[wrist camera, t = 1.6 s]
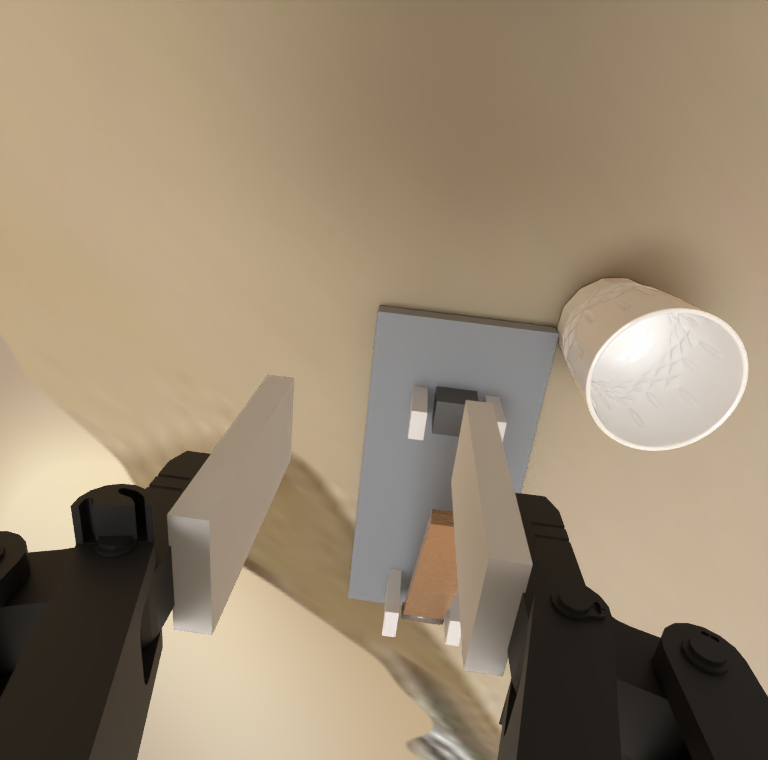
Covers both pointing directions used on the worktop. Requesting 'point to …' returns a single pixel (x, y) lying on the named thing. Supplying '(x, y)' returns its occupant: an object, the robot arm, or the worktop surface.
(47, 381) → the worktop surface
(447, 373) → the mount
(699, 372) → the white cup
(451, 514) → the strap
